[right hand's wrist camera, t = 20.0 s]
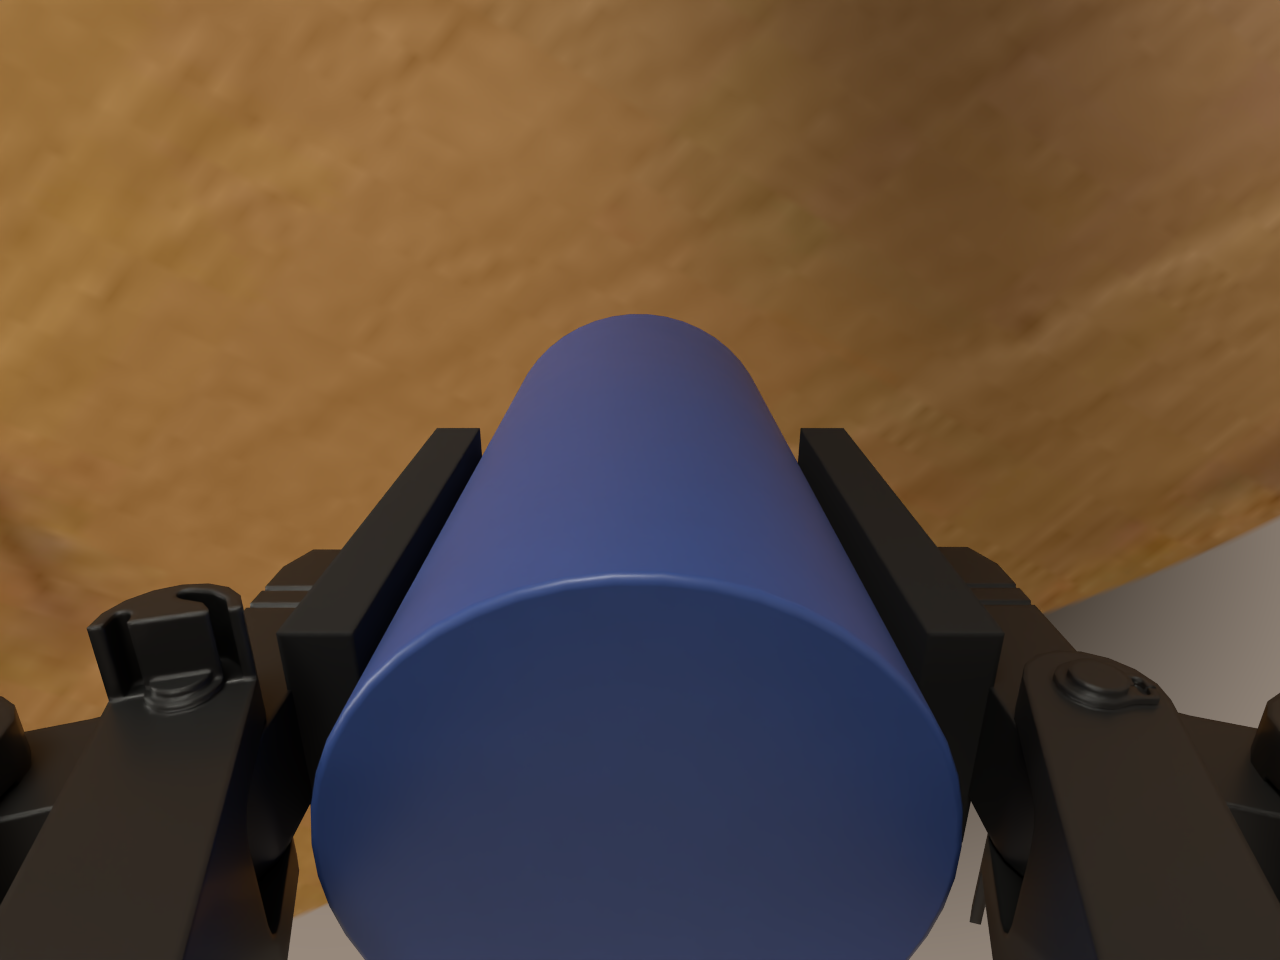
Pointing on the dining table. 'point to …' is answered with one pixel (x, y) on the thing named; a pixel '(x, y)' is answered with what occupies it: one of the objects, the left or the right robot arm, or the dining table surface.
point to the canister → (637, 698)
